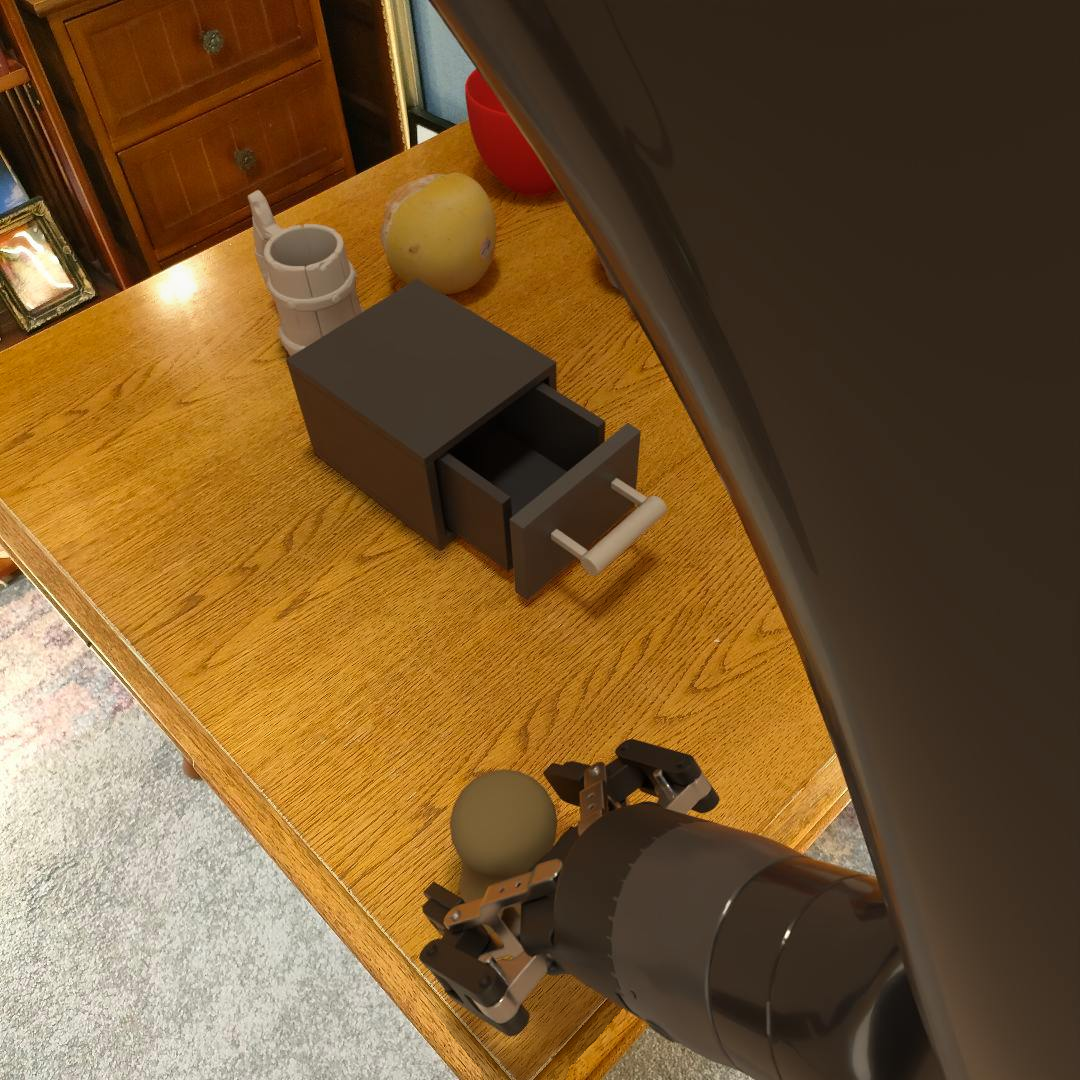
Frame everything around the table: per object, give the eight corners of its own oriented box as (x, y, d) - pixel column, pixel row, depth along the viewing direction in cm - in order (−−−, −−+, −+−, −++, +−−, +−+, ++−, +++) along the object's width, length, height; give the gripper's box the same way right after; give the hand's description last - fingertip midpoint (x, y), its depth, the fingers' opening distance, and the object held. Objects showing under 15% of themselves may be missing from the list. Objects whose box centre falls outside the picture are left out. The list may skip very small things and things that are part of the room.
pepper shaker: (443, 926, 52) (418, 851, 44) (480, 824, 56) (463, 736, 47) (548, 959, 51) (544, 890, 42) (579, 853, 55) (580, 769, 46)
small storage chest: (558, 456, 74) (556, 361, 67) (439, 551, 69) (423, 459, 61) (431, 373, 81) (416, 278, 73) (313, 453, 75) (285, 359, 68)
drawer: (681, 537, 68) (692, 461, 62) (574, 637, 63) (574, 565, 57) (503, 420, 76) (497, 343, 69) (395, 501, 71) (379, 425, 64)
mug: (319, 385, 80) (285, 263, 71) (240, 323, 85) (200, 203, 76) (389, 342, 83) (366, 220, 74) (310, 285, 89) (279, 165, 79)
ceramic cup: (652, 176, 99) (659, 79, 91) (512, 228, 94) (507, 130, 86) (584, 124, 106) (585, 30, 98) (450, 169, 101) (440, 74, 93)
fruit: (512, 252, 91) (506, 154, 83) (480, 322, 85) (471, 223, 77) (411, 239, 93) (397, 142, 85) (372, 307, 86) (353, 208, 79)
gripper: (765, 720, 37) (554, 692, 51) (509, 1012, 31) (348, 888, 45) (853, 861, 39) (625, 796, 53) (628, 1164, 33) (437, 1000, 47)
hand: (498, 839), depth 49 cm, fingers open, 8 cm apart
